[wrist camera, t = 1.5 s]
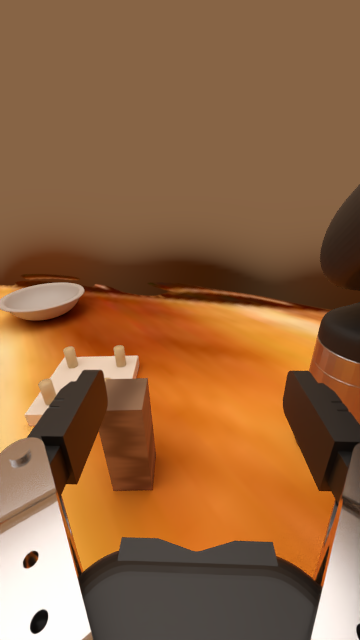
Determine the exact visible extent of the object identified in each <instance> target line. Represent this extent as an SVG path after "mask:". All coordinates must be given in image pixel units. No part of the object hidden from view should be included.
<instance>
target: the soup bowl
mask: <svg viewBox="0 0 360 640" xmlns="http://www.w3.org/2000/svg"><path fill="white" fill-rule="evenodd" d="M83 294H84V288H83V287H82V286H80V285H78V284H73V283H48V284H41V285H36V286H31V287H27V288H23V289H20V290H17V291H15V292H12V293H10V294H8V295H6V296H4V297H3V298H2V299H0V309H1V310H3V311H6V312H10V313H11V314H13V315H14V316H16V317H19V318H21V319H25V320H47V319H51V318H55V317H58V316H61V315H63V314H65V313H67V312H68V311H70V310H71V309H72V308H73V307H74V306H75V305H76V303H77V302H78V300H79V298H80V297H81V296H82V295H83Z"/></svg>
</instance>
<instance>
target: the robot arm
mask: <svg viewBox="0 0 360 640" xmlns="http://www.w3.org/2000/svg"><path fill="white" fill-rule="evenodd" d="M320 262H321V268H322V270H323V273H324V275H325V277H326V278H327V279H328V280H329V281H330V282H331V283H332V284H334V285H336V286H338V287H341V288H345V289H350V290H360V185H359V186H358V187H357V188H356V189H355V190H354V191H353V192H352V194H351V195H350V196H349V197H348V198H347V199H346V201H345V202H344V203H343V205H342V206H341V207H340V208H339V210H338V211H337V213H336V215H335V216H334V218H333V219H332V221H331V223H330V225H329V227H328V229H327V231H326V234H325V237H324V240H323V243H322V248H321V254H320ZM107 406H108V396H107V390H106V385H105V379H104V374H103V371H102V370H83V371H82V373H81V374H80V376H79V377H78V379H77V380H76V381H71V382H69V383H68V384H67V385H65V386H64V387H63V388H62V389H60V391H59V392H58V394H57V395H56V397H55V398H54V400H53V401H52V402H51V404H50V405H49V408H47V410H46V411H45V412H44V414H43V415H42V417H41V418H40V420H39V421H38V422H37V424H36V425H35V427H34V428H33V430H32V431H31V432H30V434H29V435H28V437H27V438H24V439H21V440H18V441H16V442H14V443H12V444H11V445H9V446H8V447H7V448H5V449H4V450H3V451H2V452H1V453H0V640H360V302H359V303H356V304H353V305H348V306H344V307H340V308H336V309H334V310H331V311H329V312H328V313H327V314H326V315H325V316H324V317H323V319H322V321H321V324H320V328H319V332H318V336H317V340H316V344H315V348H314V352H313V357H312V361H311V365H310V369H309V371H289V372H288V375H287V380H286V386H285V391H284V397H283V409H284V413H285V416H286V418H287V420H288V422H289V425H290V427H291V429H292V431H293V434H294V436H295V438H296V441H297V443H298V445H299V447H300V449H301V452H302V454H303V456H304V458H305V460H306V463H307V465H308V467H309V469H310V472H311V474H312V476H313V478H314V481H315V483H316V485H317V487H318V490H319V491H332V493H333V495H334V497H335V502H334V504H333V508H332V512H331V516H330V519H329V523H328V527H327V531H326V535H325V539H324V542H323V546H322V550H321V554H320V557H319V561H318V564H317V567H316V570H315V573H314V577H313V579H312V578H311V577H310V576H309V575H308V574H306V573H305V572H304V571H303V570H301V569H300V568H298V567H297V566H295V565H294V564H292V563H290V562H288V561H286V560H284V559H282V558H280V557H277V556H276V554H275V550H274V546H273V542H254V541H233V542H230V543H226V544H223V545H219V546H216V547H213V548H209V549H206V550H203V551H199V552H195V551H191V550H189V549H186V548H183V547H180V546H178V545H175V544H172V543H169V542H167V541H164V540H161V539H158V538H126V537H122V540H121V545H120V549H119V551H117V552H114V553H111V554H109V555H107V556H105V557H103V558H101V559H100V560H98V561H96V562H95V563H94V564H92V565H91V566H90V567H88V568H87V569H86V570H85V571H84V572H83V569H82V566H81V562H80V559H79V556H78V553H77V549H76V546H75V542H74V539H73V535H72V531H71V528H70V524H69V520H68V517H67V513H66V509H65V506H64V502H63V499H62V495H61V494H62V492H63V489H64V487H65V485H66V484H77V483H78V481H79V478H80V476H81V473H82V471H83V468H84V466H85V463H86V461H87V458H88V456H89V453H90V451H91V448H92V446H93V443H94V441H95V438H96V436H97V433H98V431H99V429H100V426H101V424H102V421H103V419H104V416H105V414H106V411H107Z"/></svg>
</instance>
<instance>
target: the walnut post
mask: <svg viewBox="0 0 360 640" xmlns="http://www.w3.org/2000/svg"><path fill="white" fill-rule="evenodd" d="M105 385H106V390H107V396H108V406H107V411H106V414H105V416H104V419H103V421H102V424H101V426H100V429H99V434H100V438H101V442H102V446H103V450H104V454H105V458H106V462H107V466H108V470H109V474H110V478H111V482H112V486H113V490H114V491H130V490H153V479H154V468H155V458H156V452H155V442H154V433H153V424H152V415H151V406H150V397H149V387H148V378H138V379H106V381H105Z"/></svg>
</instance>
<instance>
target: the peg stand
mask: <svg viewBox="0 0 360 640" xmlns="http://www.w3.org/2000/svg"><path fill="white" fill-rule="evenodd" d="M63 351H64V355H65V357H64V359H63V360H62V362H61V363H60V365H59V366H58V367H57V369H56V370H55V372H54V373H53V375H52V376H51V378H50V379H44V380H42V381H41V382H39V384H38V385H39V388H40V391H41V392H40V393H39V395H38V396H37V398H36V399H35V401H34V402H33V404H32V405H31V406H30V408H29V409H28V411H27V412H26V414H25V417H26V420H27V422H28V425H29V426H35V425H36V424H37V422H38V421H39V420H40V418H41V417H42V415H43V414H44V412H45V411H46V410H47V408H49V405H50V404H51V402H52V401H53V400H54V398H55V397H56V395H57V394H58V392H59V391H60V389H62V388H63V387H64V386H65V385H67V384H68V383H69V382H71V381H76V380H77V379H78V377H79V376H80V374H81V373H82V371H83V370H102V371H103V374H104V379H105V381H106V379H136V377H137V373H138V368H139V359H138V356H125V351H124V346H122V345H118V346H115V347H114V354H115V356H104V357H76V354H75V350H74V347H72V346H70V347H66V348H65V349H64V350H63Z"/></svg>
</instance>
